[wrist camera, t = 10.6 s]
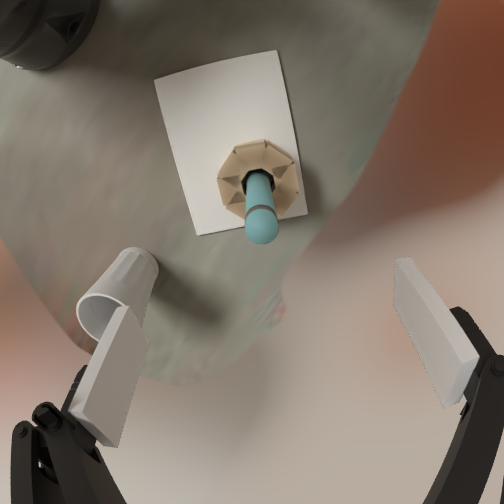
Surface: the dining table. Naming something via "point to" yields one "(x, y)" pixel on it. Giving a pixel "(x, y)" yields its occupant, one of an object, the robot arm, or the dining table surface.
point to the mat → (225, 128)
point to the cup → (119, 291)
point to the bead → (251, 159)
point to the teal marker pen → (260, 208)
